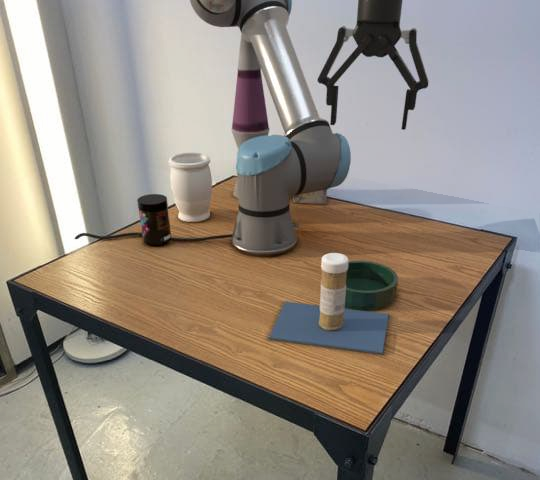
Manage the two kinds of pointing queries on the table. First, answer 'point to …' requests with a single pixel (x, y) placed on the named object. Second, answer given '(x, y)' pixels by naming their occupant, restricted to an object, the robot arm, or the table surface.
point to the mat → (309, 331)
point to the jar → (191, 185)
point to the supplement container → (154, 219)
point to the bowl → (369, 286)
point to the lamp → (248, 99)
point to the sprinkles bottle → (333, 290)
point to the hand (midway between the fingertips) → (368, 125)
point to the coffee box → (311, 197)
